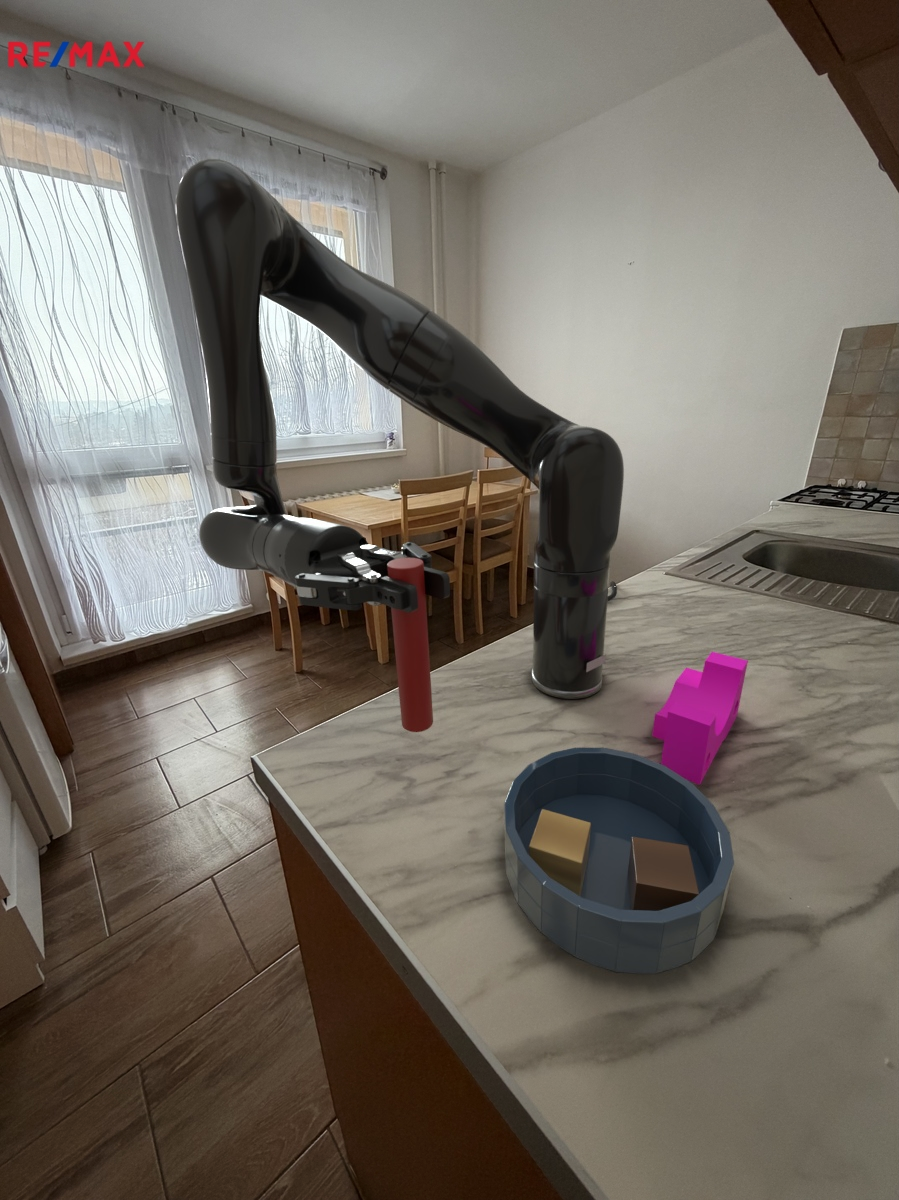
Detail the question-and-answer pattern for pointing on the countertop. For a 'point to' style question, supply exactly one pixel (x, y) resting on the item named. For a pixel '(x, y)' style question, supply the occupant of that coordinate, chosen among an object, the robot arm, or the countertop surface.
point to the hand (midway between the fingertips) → (430, 592)
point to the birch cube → (561, 848)
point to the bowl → (617, 858)
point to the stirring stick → (412, 649)
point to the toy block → (700, 715)
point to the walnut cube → (660, 875)
